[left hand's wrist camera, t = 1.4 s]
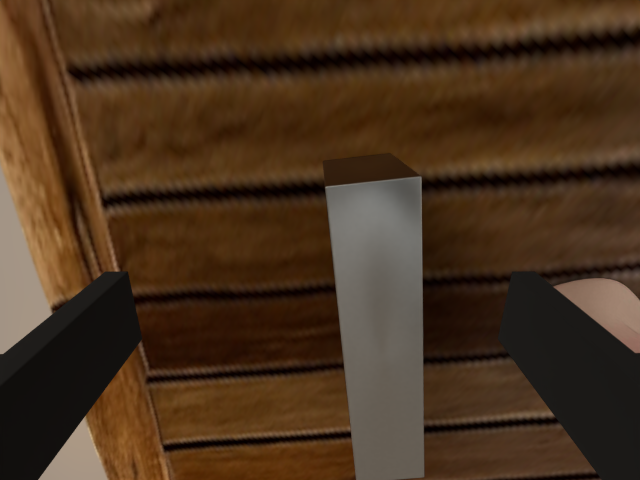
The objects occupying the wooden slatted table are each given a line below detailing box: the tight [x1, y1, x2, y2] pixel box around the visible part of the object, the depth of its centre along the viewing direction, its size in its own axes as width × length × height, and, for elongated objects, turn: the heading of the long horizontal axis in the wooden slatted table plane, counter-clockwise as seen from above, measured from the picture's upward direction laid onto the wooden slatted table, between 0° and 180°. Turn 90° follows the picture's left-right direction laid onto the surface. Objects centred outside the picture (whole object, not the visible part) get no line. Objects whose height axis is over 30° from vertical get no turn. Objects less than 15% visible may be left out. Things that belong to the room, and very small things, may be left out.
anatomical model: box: [553, 278, 640, 353], centre depth 30 cm, size 13×4×12 cm
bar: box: [323, 153, 424, 480], centre depth 26 cm, size 22×5×8 cm, turn 6°
